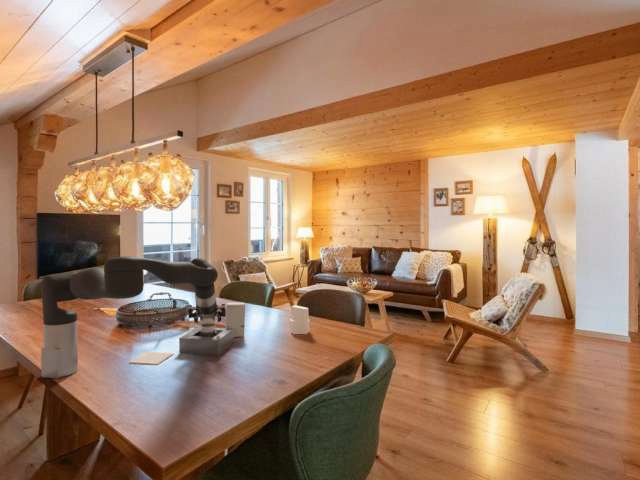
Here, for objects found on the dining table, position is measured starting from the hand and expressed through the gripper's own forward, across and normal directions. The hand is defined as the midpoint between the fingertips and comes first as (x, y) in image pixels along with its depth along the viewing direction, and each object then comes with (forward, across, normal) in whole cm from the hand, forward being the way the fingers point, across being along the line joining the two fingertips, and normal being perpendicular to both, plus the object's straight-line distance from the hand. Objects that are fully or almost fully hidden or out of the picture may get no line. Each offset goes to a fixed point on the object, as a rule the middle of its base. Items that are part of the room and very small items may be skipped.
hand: (208, 320), depth 150 cm
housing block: (+7, 0, -8) cm, 11 cm away
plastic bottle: (+7, 0, -8) cm, 11 cm away
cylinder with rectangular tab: (+18, +40, +2) cm, 44 cm away
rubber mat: (+1, -19, -15) cm, 24 cm away
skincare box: (+18, +11, +2) cm, 21 cm away
